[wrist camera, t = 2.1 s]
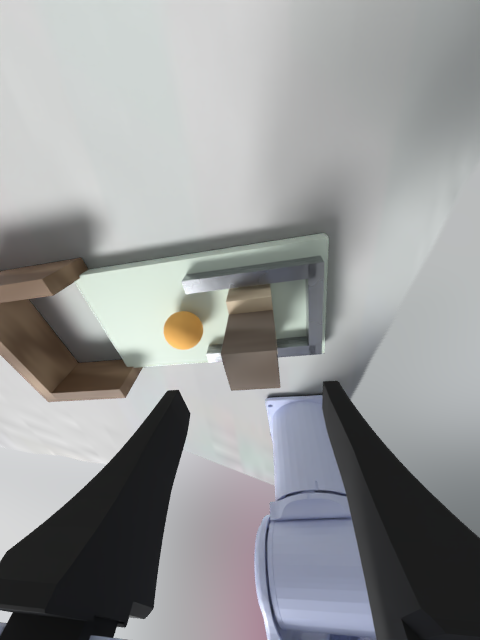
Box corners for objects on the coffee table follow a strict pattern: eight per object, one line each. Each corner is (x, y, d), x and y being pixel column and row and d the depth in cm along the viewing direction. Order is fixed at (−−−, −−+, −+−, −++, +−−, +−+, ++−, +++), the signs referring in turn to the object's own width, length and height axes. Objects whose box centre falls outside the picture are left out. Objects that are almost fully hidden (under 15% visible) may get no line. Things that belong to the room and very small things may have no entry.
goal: (143, 366, 25) (125, 397, 21) (75, 371, 26) (48, 401, 23) (81, 257, 18) (41, 279, 15) (-6, 272, 19) (-61, 294, 16)
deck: (321, 344, 21) (324, 353, 20) (133, 359, 24) (128, 368, 23) (324, 232, 16) (328, 237, 15) (80, 270, 19) (70, 276, 18)
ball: (210, 331, 20) (203, 356, 17) (177, 335, 20) (166, 359, 18) (201, 301, 18) (191, 324, 16) (165, 306, 19) (151, 328, 16)
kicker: (276, 337, 19) (281, 398, 14) (240, 340, 20) (234, 400, 15) (270, 283, 16) (274, 335, 12) (229, 288, 17) (216, 340, 12)
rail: (318, 344, 20) (321, 354, 19) (211, 353, 21) (209, 362, 20) (320, 255, 15) (324, 262, 14) (185, 274, 17) (181, 281, 16)
